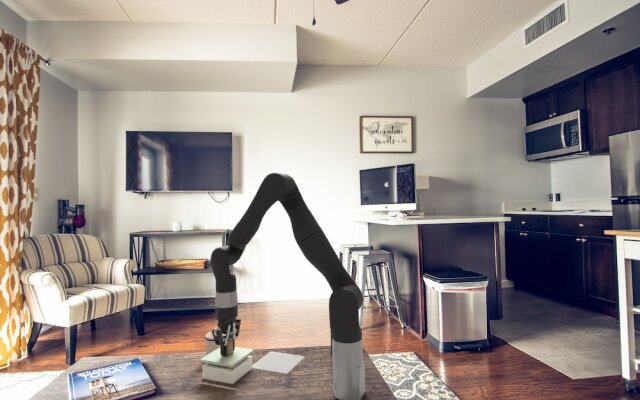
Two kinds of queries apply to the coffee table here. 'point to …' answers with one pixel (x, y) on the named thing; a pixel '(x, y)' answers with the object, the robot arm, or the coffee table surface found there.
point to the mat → (278, 362)
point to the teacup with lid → (211, 342)
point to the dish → (227, 371)
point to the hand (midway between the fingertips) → (227, 353)
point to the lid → (231, 357)
